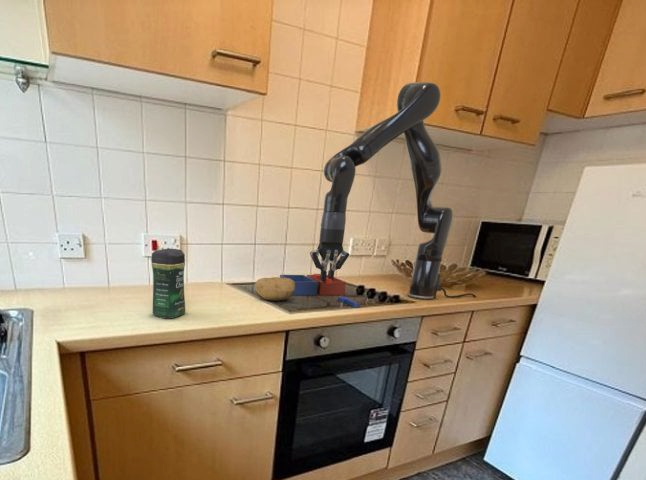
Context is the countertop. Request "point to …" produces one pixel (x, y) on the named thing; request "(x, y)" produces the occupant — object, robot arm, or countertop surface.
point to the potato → (275, 288)
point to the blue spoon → (348, 301)
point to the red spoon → (317, 276)
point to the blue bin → (303, 284)
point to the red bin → (330, 287)
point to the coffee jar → (168, 283)
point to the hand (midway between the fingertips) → (326, 281)
